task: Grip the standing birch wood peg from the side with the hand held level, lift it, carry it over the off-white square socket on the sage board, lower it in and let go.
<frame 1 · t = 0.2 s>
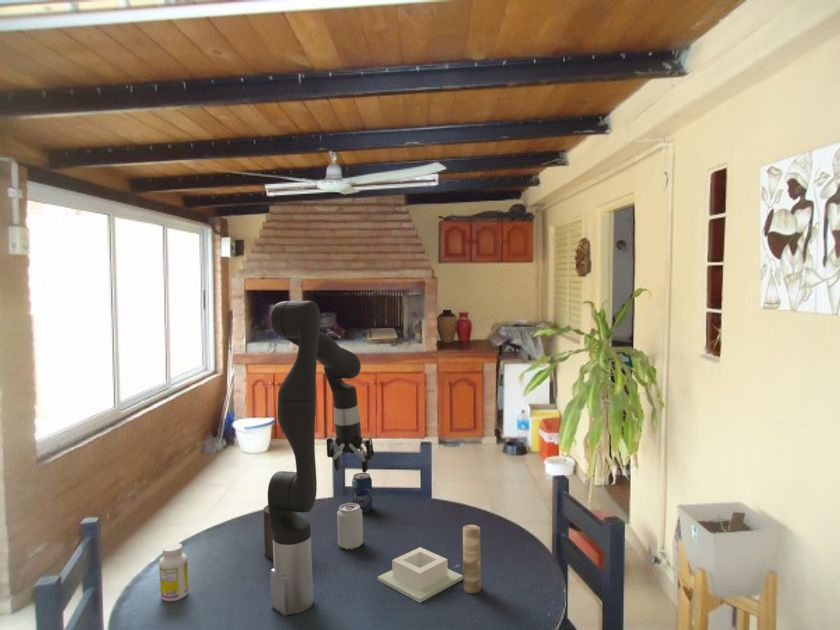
hand: (351, 470, 182), 22 cm above the table, tool pointing down, fingers open, 8 cm apart
can: (350, 545, 182), on the table
peg: (472, 588, 155), on the table
pillar candle: (281, 553, 178), on the table
socket: (420, 579, 160), on the table
soda can: (362, 510, 209), on the table
supplement bottle: (174, 596, 155), on the table
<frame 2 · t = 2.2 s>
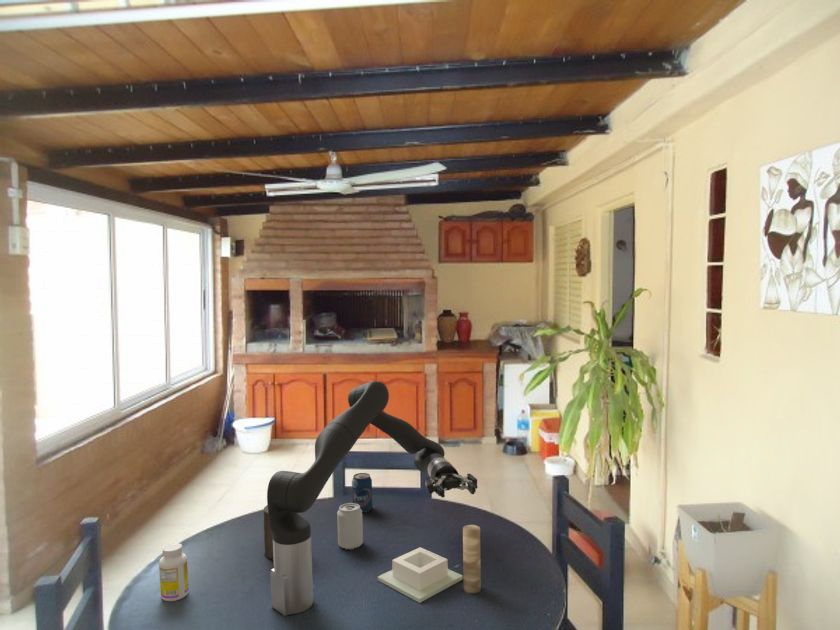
hand: (458, 492, 164), 21 cm above the table, tool horizontal, fingers open, 8 cm apart
nothing on the table moved.
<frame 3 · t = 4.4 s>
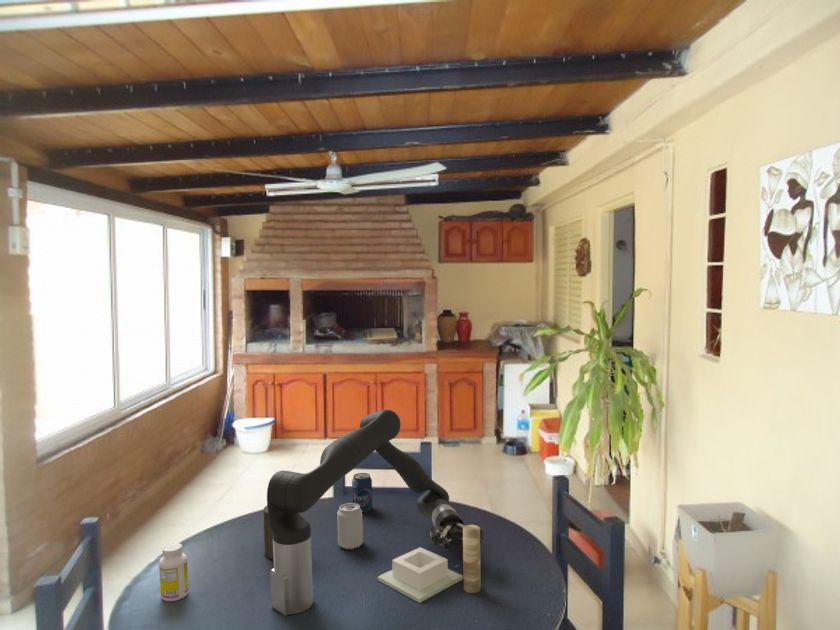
hand: (464, 545, 161), 9 cm above the table, tool horizontal, fingers open, 8 cm apart
nothing on the table moved.
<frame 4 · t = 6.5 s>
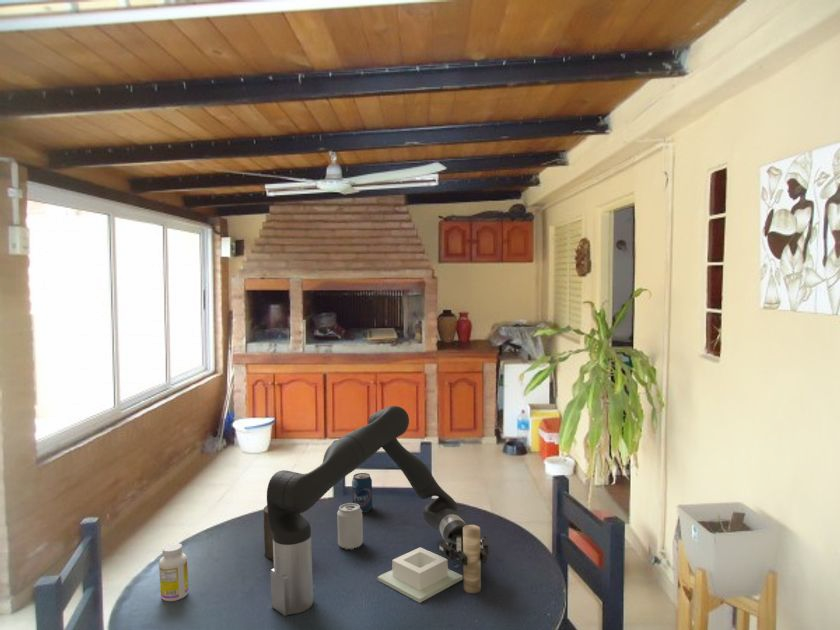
hand: (475, 560, 152), 9 cm above the table, tool horizontal, fingers closed on peg, 4 cm apart
peg: (472, 588, 155), on the table, touching gripper
everything else where it was.
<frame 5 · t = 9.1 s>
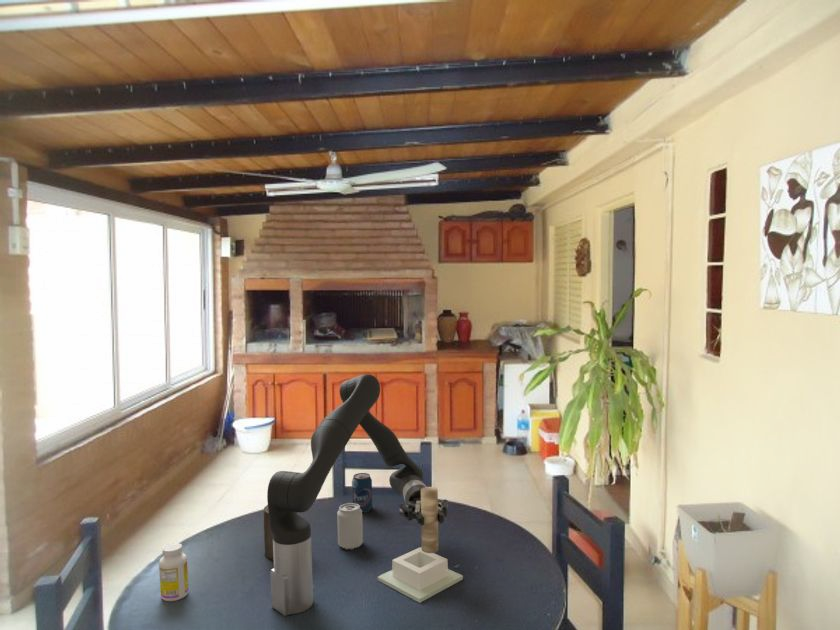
hand: (432, 520, 155), 18 cm above the table, tool horizontal, fingers closed on peg, 4 cm apart
peg: (430, 549, 158), point 9 cm above the table, touching gripper
everything else where it was.
when the fingers open (11 cm above the table, at t = 11.5 s): peg drops 1 cm, resting on socket.
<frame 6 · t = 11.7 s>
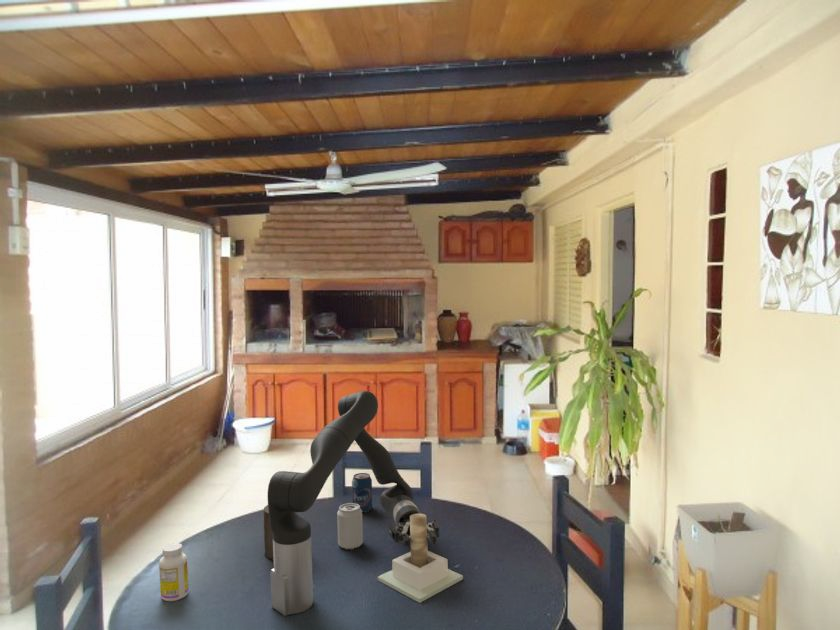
hand: (421, 542, 157), 11 cm above the table, tool horizontal, fingers open, 6 cm apart
peg: (419, 575, 160), point 1 cm above the table, touching socket
everything else where it was.
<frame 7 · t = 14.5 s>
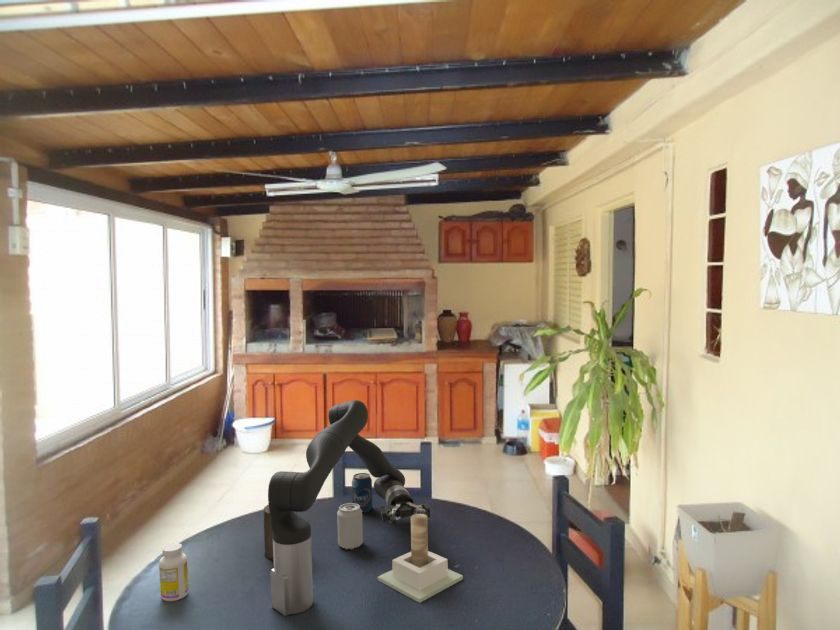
hand: (410, 521, 170), 11 cm above the table, tool horizontal, fingers open, 8 cm apart
nothing on the table moved.
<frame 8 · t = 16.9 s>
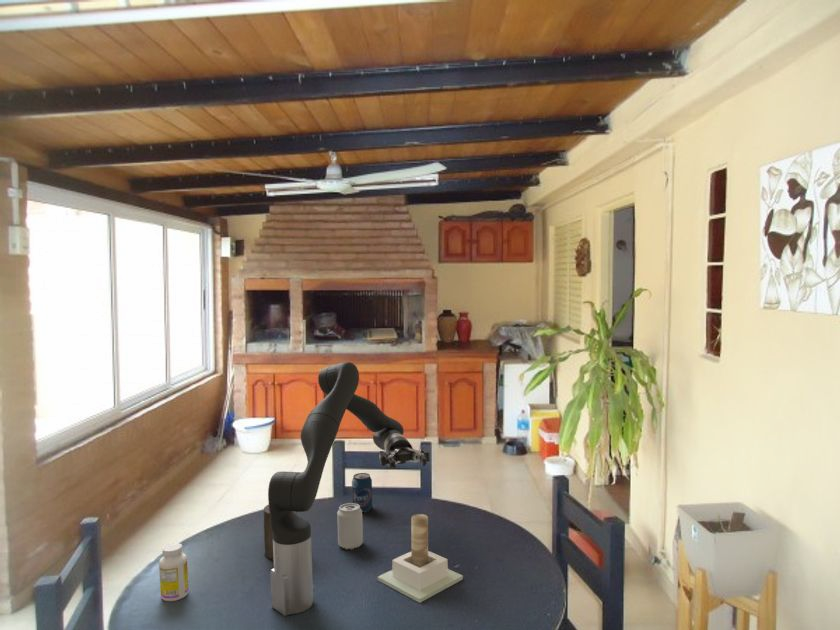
hand: (409, 464, 169), 28 cm above the table, tool horizontal, fingers open, 8 cm apart
nothing on the table moved.
at the end: peg 0.1 cm off-centre on the socket, point 1.0 cm above the socket's base; peg tilted 1°; the gripper is holding nothing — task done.
